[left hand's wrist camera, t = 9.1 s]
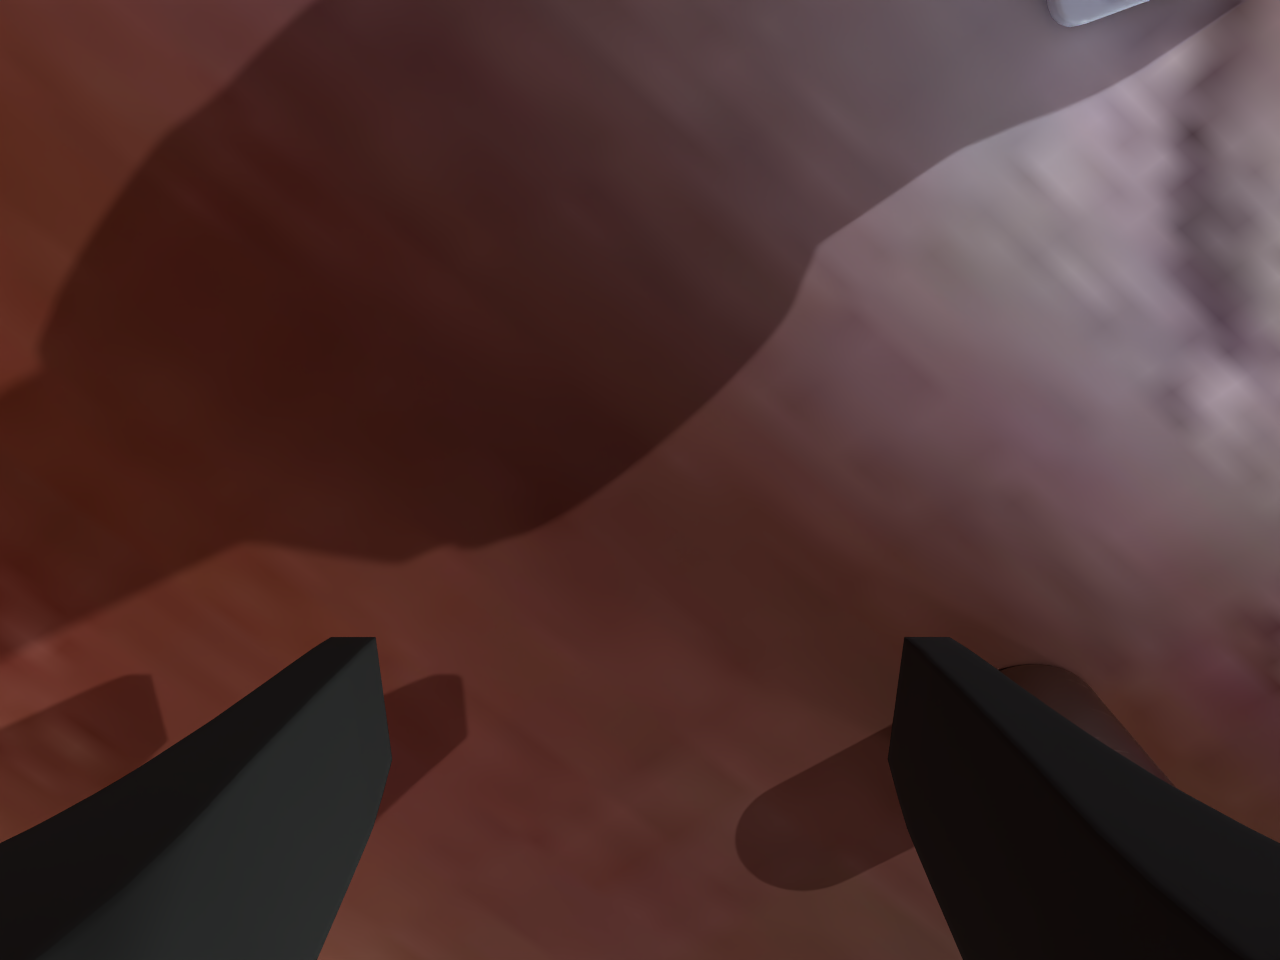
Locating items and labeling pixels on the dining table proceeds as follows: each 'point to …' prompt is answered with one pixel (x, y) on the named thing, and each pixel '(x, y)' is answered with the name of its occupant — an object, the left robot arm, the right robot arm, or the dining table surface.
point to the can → (1081, 709)
